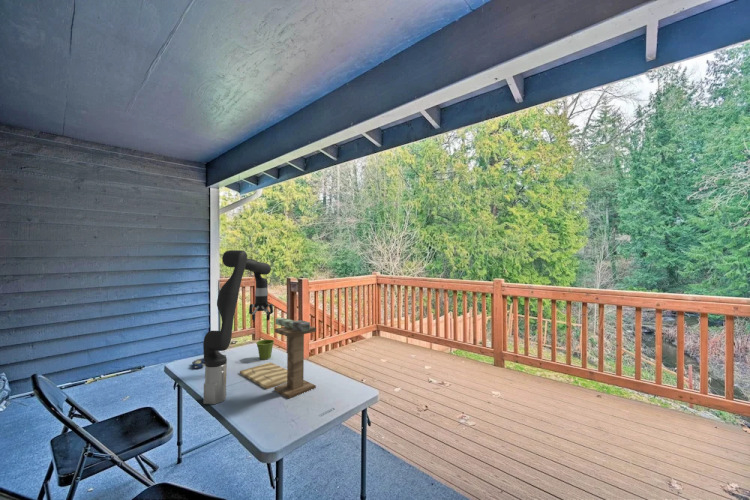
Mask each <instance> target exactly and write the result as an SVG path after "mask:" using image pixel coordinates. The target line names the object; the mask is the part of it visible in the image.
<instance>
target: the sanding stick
mask: <svg viewBox="0 0 750 500" xmlns="http://www.w3.org/2000/svg"><path fill="white" fill-rule="evenodd" d="M275 325H277V326H281V327H288V328H291V329H293V330H297V331H300V332H304V331H308V330H310V326H311V322H309V321H305V320H293V319H290V318H285V317H279V318H275Z"/></svg>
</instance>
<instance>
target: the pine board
mask: <svg viewBox="0 0 750 500" xmlns="http://www.w3.org/2000/svg"><path fill="white" fill-rule="evenodd" d="M239 374H240V375H242V376H244V377H245V378H246V379H249V380H250V381H251V382H254V383H255V384H257V385H259V386H260V387H262V388H264V389H265V390H269V389H271V388H274V387H277V386H280V385H283V384H286V383H287V368H284V367H283V366H280V365H277V364H276V363H273V362H271V361H270V362H267V363H264V364H260V365H257V366H253V367H248V368H246V369H243V370H239Z"/></svg>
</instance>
